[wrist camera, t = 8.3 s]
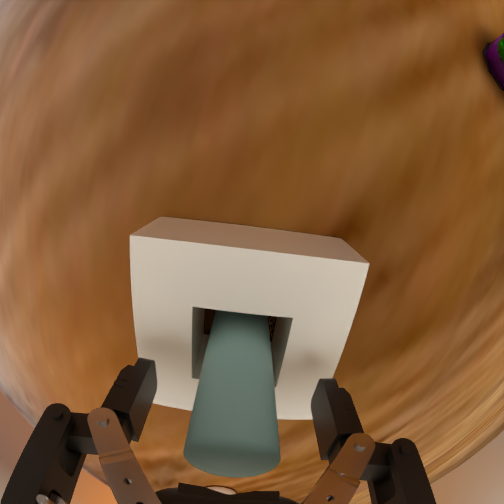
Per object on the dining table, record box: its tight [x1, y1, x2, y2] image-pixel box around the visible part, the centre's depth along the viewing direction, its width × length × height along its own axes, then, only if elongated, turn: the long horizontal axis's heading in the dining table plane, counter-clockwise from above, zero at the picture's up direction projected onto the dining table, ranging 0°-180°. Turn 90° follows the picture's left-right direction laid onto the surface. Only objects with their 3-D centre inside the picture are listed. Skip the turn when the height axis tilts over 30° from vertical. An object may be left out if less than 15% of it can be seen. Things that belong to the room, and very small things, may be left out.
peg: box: [184, 310, 280, 477], centre depth 14 cm, size 4×4×12 cm
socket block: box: [130, 217, 369, 419], centre depth 17 cm, size 12×12×5 cm
